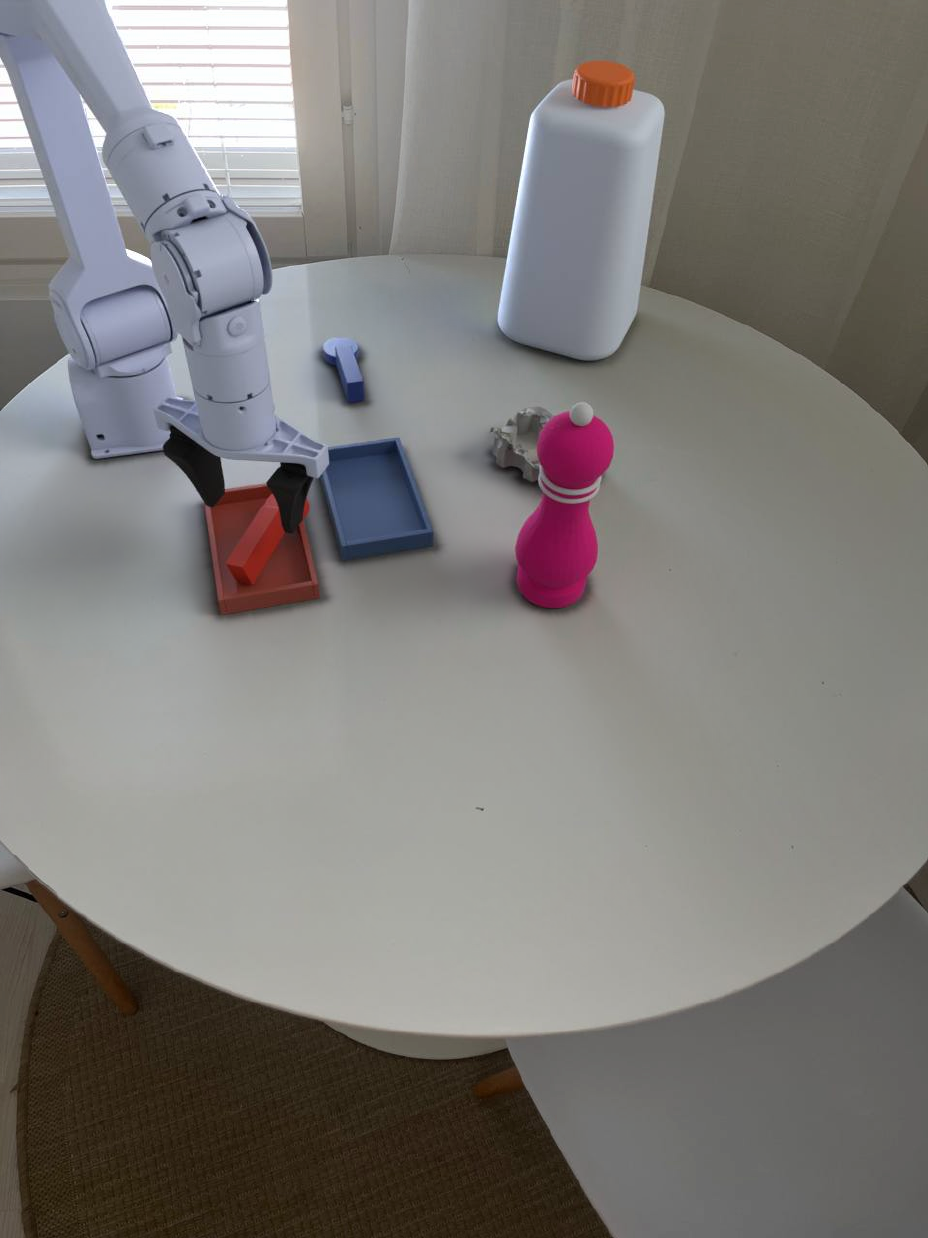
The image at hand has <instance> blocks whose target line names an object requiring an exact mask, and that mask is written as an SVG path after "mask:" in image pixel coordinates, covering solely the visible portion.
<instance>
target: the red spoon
mask: <svg viewBox="0 0 928 1238" xmlns="http://www.w3.org/2000/svg"><path fill="white" fill-rule="evenodd" d="M307 497H308V496H307ZM307 497H306V501H305V506H304V512H303V520H305V519H306V517H307V516H308V515H309V512H310V509H311V505H310V502H309V500H308V498H307ZM284 534H285V531H284V529H283V527H282V524H281V518H280V512H279V507H278V504H277V502H276V499H275V497H274V495H273V494H271V495H270V496H269V497H268V499H267V500H266V502H265V506H264V505H263V506H262V507H261V509H260V510H259V512H258V513H257V515H256V517H255V518H254V520H253V521H252V523H251V524H250V526H249V527H248V529H247V531H246V532H245V534H244V535H243V537H242V538H241V540H240V542H239V543H238V545H237V546H236V548H235V549H234V551H233V552H232V554H231V556H230V557H229V559H228V560H227V562H226V565H227V567H228V569H229V570H230V572H231V574H232V575H233V577H234V579H235V580H236V582H240V583H245V584H249V585H253V584H254V583H255V581H256V579H257V578H258V576H259V574H260V573H261V571H262V570H263V568H264V566H265V565H266V563H267V561H268V560H269V558H270V556H271V555H272V553H273V552H274V550H275V548H276V547H277V545H278V543H279V542H280V540H281V539H282V537H283V535H284Z"/></svg>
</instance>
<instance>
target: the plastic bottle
mask: <svg viewBox="0 0 928 1238" xmlns="http://www.w3.org/2000/svg"><path fill="white" fill-rule="evenodd" d="M635 82H636V77H635V74H634V72H633V71H632V69H630V68H629V67H628V66H626V65H623V64H621V63H618V62H614V61H607V60H591V61H585V62H583V63H581V64H580V65H578V66H577V67H576V68H575V70H574V72H573V77H572V78H570V79H566V80H563V81H561V82H559V83H558V84H557V85H555V87H554V88H552V89H551V90H550V92H549V93H548V94H546V96H544V98H543V99H542V100H541V101H540V103H539V104H538V105H537V106H536V107H535V109H534V110H533V111H532V113H531V115H530V118H529V124H528V129H527V136H526V141H525V147H524V154H523V160H522V165H521V172H520V177H519V184H518V190H517V191H518V192H517V197H516V202H515V208H514V214H513V220H512V227H511V233H510V239H509V245H508V249H507V250H508V251H507V256H506V262H505V263H506V264H505V269H504V274H503V280H502V281H503V282H502V286H501V294H500V300H499V304H498V305H499V306H498V310H497V311H498V312H497V325H498V326H499V328H500V331H501V332H502V334H504V335H505V337H507V338H508V339H510V340H512V341H513V342H515V343H518V344H521V345H524V346H529V347H532V348H535V349H539V350H541V351H542V350H543V351H546V352H549V353H552V354H557V355H561V356H564V357H567V358H572V359H574V360H575V359H576V360H579V361H587V362H588V361H598V360H602V359H606V358H608V357H610V356H612V355H613V354H614V353H615V352H616V351H617V350H618V349H619V348H620V346H621V344H622V342H623V341H624V338H625V336H626V334H627V333H628V331H629V329H630V327H631V325H632V323H633V322H634V320H635V318H636V316H637V312H638V305H639V299H640V293H641V285H642V278H643V272H644V271H643V270H644V265H645V259H646V258H645V257H646V249H647V245H648V244H647V242H648V237H649V236H648V235H649V229H650V222H651V215H652V208H653V201H654V193H655V186H656V180H657V172H658V167H659V166H658V165H659V159H660V151H661V143H662V136H663V130H664V122H665V117H666V116H665V115H666V112H665V107H664V104H663V102H662V101H661V99H660V98H658V97H656V96H655V95H653V94H652V93H648V92H645V91H642V90H641V91H640V90H636V89H634V86H635Z"/></svg>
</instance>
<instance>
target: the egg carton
mask: <svg viewBox="0 0 928 1238" xmlns="http://www.w3.org/2000/svg"><path fill="white" fill-rule="evenodd" d="M554 416H555V415H554V414H552V413H551V412H550V411H549V410H547V409H546V408H544V407H541V406H532V407H526V408H523V409H522V410H521V411H518V412H517V413H516V415H515V416H514V417H510V418H509V419H508V421H507V422H506V424H505V426H504V427H502V428H501V425H500V424H499V425H497V426H496V427H491V428H490V430H489V433H493V434H494V440H493V448H492V454H493V455H494V457H496V461H495V462H496V464H497V466H499V467H500V468H507V467H516V468H519V469H520V470H521V472H522V479H524V480H527V481H529V482H532V483H534V482H536V481H538V477H539V474H540V466H541V464H540V462H539V459H538V457H537V441H538V438H539V435H540V432H541V430H542V429H543V427H544V426H545V424H546V423H547V422H548V421H549V420H550V419H551V418H553V417H554Z"/></svg>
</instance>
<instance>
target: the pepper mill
mask: <svg viewBox="0 0 928 1238" xmlns="http://www.w3.org/2000/svg"><path fill="white" fill-rule="evenodd" d="M614 451H615V443H614V437H613V434H612V432H611V430H610V428H609V427H608V425H607V424H606V422H605V421H603V420H602V419H601V418H599V417H598V416H596V415H594V410H593V408H592V406H591V405H590V404H589V403H587V402H584V401H580V402H577V403H575V404H574V405H572V407H571V408H570V410H568V411H564V412H561V413H558V414H555V415H554V417H553V418H551V419H550V420H549V421H548V422H547V423H546V424H545V426H544V427H543V429H542V430H541V432H540V435H539V438H538V441H537V457H538V459H539V462H540V464H541V466H540V474H539V477H538V480H537V481H538V486H539V488H540V490H541V491H542V495H541V501H540V502H539V504H538V506H537V507H536V508H535V510H533V512H532V513H531V514H530V515H529V517H527V519H526V520H525V522H524V523H523V524H522V527H521V528H520V529H519V531H518V534H517V539H516V542H515V547H514V549H515V550H514V552H515V558H516V561H517V564H518V565H517V566H518V567H517V572H516V585H517V588H518V590H519V592H520V594H521V595H522V596H523V598H525V599H526V600H528V602H530V603H532V604H534V605H536V606H538V607H543V608H545V609H560V608H566V607H569V606H571V605H573V604H575V603H576V602H577V601H578V600H579V599H580V598H581V597H582V596H583V594H584V592H585V588H586V583H587V580H588V579H587V578H588V576H589V575H590V574H591V573H592V572H593V570H594V568H595V566H596V564H597V561H598V553H599V552H598V551H599V544H598V543H599V542H598V538H597V537H598V536H597V531H596V530H595V527H594V523H593V521H592V519H591V515H590V501H591V500H592V499H593V498H594V497H596V496H597V494H598V493H599V491H600V487H601V482H602V478H603V477H602V476H603V475H604V473H606V471H607V470H608V469H609V468H610V466H611V464H612V460H613V458H614Z"/></svg>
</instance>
